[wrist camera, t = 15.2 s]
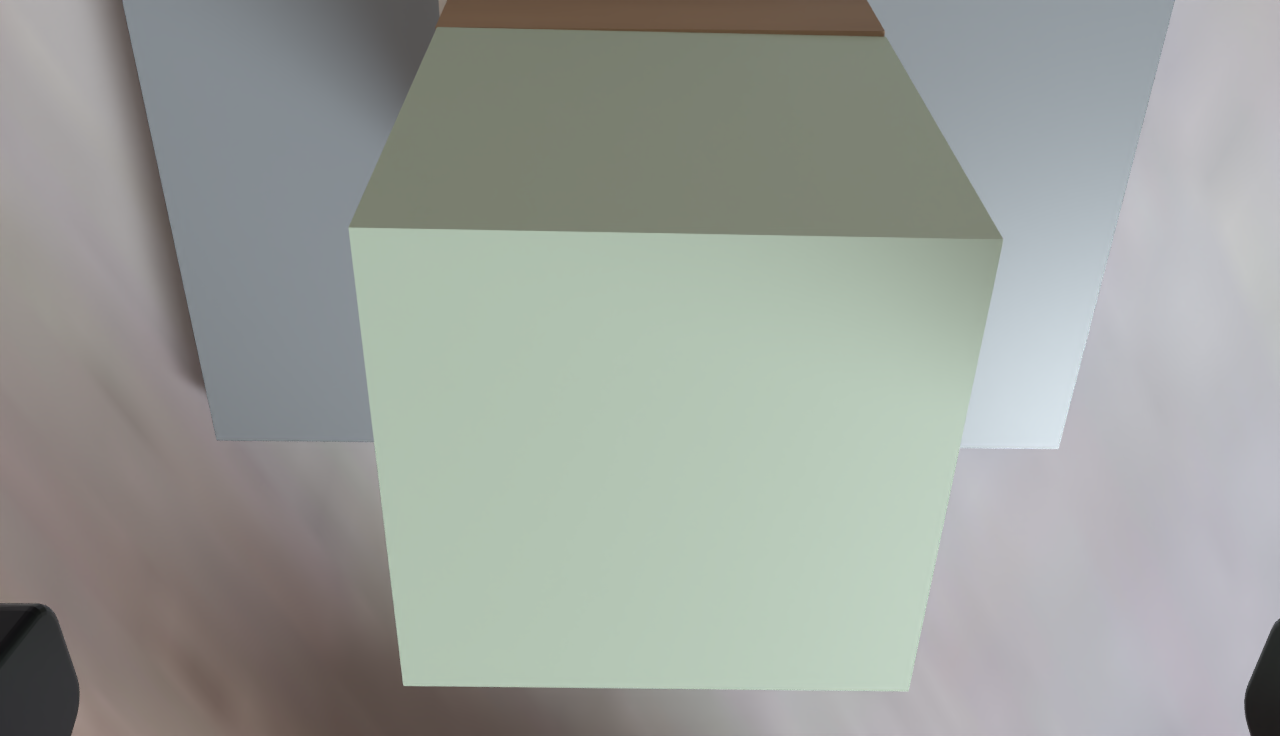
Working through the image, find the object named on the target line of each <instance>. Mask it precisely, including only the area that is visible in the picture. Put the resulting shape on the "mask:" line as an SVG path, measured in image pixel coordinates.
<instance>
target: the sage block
mask: <svg viewBox="0 0 1280 736" xmlns="http://www.w3.org/2000/svg"><path fill="white" fill-rule="evenodd" d="M348 228H349V237H350V245H351V253H352V262H353V270H354V278H355V287H356V295H357V303H358V312H359V320H360V329H361V337H362V345H363V354H364V362H365V370H366V379H367V387H368V395H369V404H370V412H371V420H372V429H373V437H374V446H375V454H376V462H377V471H378V479H379V487H380V496H381V504H382V512H383V521H384V529H385V537H386V546H387V554H388V563H389V571H390V579H391V588H392V596H393V604H394V613H395V621H396V629H397V638H398V646H399V655H400V663H401V671H402V680H403V686H455V687H548V688H641V689H734V690H827V691H909V686H910V682H911V677H912V672H913V667H914V663H915V658H916V653H917V648H918V644H919V639H920V634H921V629H922V625H923V620H924V615H925V610H926V606H927V601H928V596H929V591H930V587H931V582H932V577H933V572H934V568H935V563H936V558H937V553H938V549H939V544H940V539H941V534H942V530H943V525H944V520H945V515H946V510H947V506H948V501H949V496H950V491H951V487H952V482H953V477H954V472H955V468H956V463H957V458H958V453H959V449H960V444H961V439H962V434H963V430H964V425H965V420H966V415H967V411H968V406H969V401H970V396H971V392H972V387H973V382H974V377H975V373H976V368H977V363H978V358H979V354H980V349H981V344H982V339H983V335H984V330H985V325H986V320H987V316H988V311H989V306H990V301H991V297H992V292H993V287H994V282H995V278H996V273H997V268H998V263H999V259H1000V254H1001V249H1002V244H1003V238H1002V236H1001V234H1000V233H999V231H998V229H997V227H996V226H995V224H994V222H993V220H992V219H991V217H990V215H989V214H988V212H987V210H986V208H985V207H984V205H983V203H982V202H981V200H980V198H979V196H978V195H977V193H976V191H975V189H974V188H973V186H972V184H971V183H970V181H969V179H968V177H967V176H966V174H965V172H964V170H963V169H962V167H961V165H960V164H959V162H958V160H957V158H956V157H955V155H954V153H953V151H952V150H951V148H950V146H949V145H948V143H947V141H946V139H945V138H944V136H943V134H942V132H941V131H940V129H939V127H938V126H937V124H936V122H935V120H934V119H933V117H932V115H931V113H930V112H929V110H928V108H927V107H926V105H925V103H924V101H923V100H922V98H921V96H920V94H919V93H918V91H917V89H916V88H915V86H914V84H913V82H912V81H911V79H910V77H909V75H908V74H907V72H906V70H905V69H904V67H903V65H902V63H901V62H900V60H899V58H898V56H897V55H896V53H895V51H894V50H893V48H892V46H891V44H890V43H889V41H888V39H887V37H879V36H833V35H786V34H740V33H693V32H647V31H600V30H554V29H508V28H461V27H437V28H436V30H435V33H434V35H433V37H432V40H431V42H430V44H429V46H428V49H427V51H426V53H425V55H424V58H423V60H422V62H421V64H420V67H419V69H418V71H417V73H416V76H415V78H414V80H413V83H412V85H411V87H410V89H409V92H408V94H407V96H406V98H405V101H404V103H403V105H402V107H401V110H400V112H399V114H398V116H397V119H396V121H395V123H394V126H393V128H392V130H391V132H390V135H389V137H388V139H387V141H386V144H385V146H384V148H383V150H382V153H381V155H380V157H379V159H378V162H377V164H376V166H375V169H374V171H373V173H372V175H371V178H370V180H369V182H368V184H367V187H366V189H365V191H364V193H363V196H362V198H361V200H360V202H359V205H358V207H357V209H356V212H355V214H354V216H353V218H352V221H351V223H350V225H349V227H348Z"/></svg>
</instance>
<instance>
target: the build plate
mask: <svg viewBox="0 0 1280 736" xmlns="http://www.w3.org/2000/svg"><path fill="white" fill-rule="evenodd" d="M867 1H868V3H869V5H870V6H871V8H872V10H873V11H874V13H875V15H876V17H877V18H878V20H879V22H880V23H881V25H882V27H883V29H884V30H885V35H884V37H887V39H888V41H889V43H890V44H891V46H892V48H893V50H894V51H895V53H896V55H897V56H898V58H899V60H900V62H901V63H902V65H903V67H904V69H905V70H906V72H907V74H908V75H909V77H910V79H911V81H912V82H913V84H914V86H915V88H916V89H917V91H918V93H919V94H920V96H921V98H922V100H923V101H924V103H925V105H926V107H927V108H928V110H929V112H930V113H931V115H932V117H933V119H934V120H935V122H936V124H937V126H938V127H939V129H940V131H941V132H942V134H943V136H944V138H945V139H946V141H947V143H948V145H949V146H950V148H951V150H952V151H953V153H954V155H955V157H956V158H957V160H958V162H959V164H960V165H961V167H962V169H963V170H964V172H965V174H966V176H967V177H968V179H969V181H970V183H971V184H972V186H973V188H974V189H975V191H976V193H977V195H978V196H979V198H980V200H981V202H982V203H983V205H984V207H985V208H986V210H987V212H988V214H989V215H990V217H991V219H992V220H993V222H994V224H995V226H996V227H997V229H998V231H999V233H1000V234H1001V236H1002V238H1003V244H1002V249H1001V254H1000V259H999V263H998V268H997V273H996V278H995V282H994V287H993V292H992V297H991V301H990V306H989V311H988V316H987V320H986V325H985V330H984V335H983V339H982V344H981V349H980V354H979V358H978V363H977V368H976V373H975V377H974V382H973V387H972V392H971V396H970V401H969V406H968V411H967V415H966V420H965V425H964V430H963V434H962V439H961V444H960V448H1003V449H1059V445H1060V441H1061V437H1062V433H1063V430H1064V426H1065V422H1066V418H1067V414H1068V410H1069V406H1070V403H1071V399H1072V395H1073V391H1074V387H1075V383H1076V379H1077V376H1078V372H1079V368H1080V364H1081V360H1082V356H1083V352H1084V349H1085V345H1086V341H1087V337H1088V333H1089V329H1090V325H1091V322H1092V318H1093V314H1094V310H1095V306H1096V302H1097V298H1098V295H1099V291H1100V287H1101V283H1102V279H1103V275H1104V271H1105V268H1106V264H1107V260H1108V256H1109V252H1110V248H1111V244H1112V241H1113V237H1114V233H1115V229H1116V225H1117V221H1118V217H1119V214H1120V210H1121V206H1122V202H1123V198H1124V194H1125V190H1126V187H1127V183H1128V179H1129V175H1130V171H1131V167H1132V164H1133V160H1134V156H1135V152H1136V148H1137V144H1138V140H1139V137H1140V133H1141V129H1142V125H1143V121H1144V117H1145V113H1146V110H1147V106H1148V102H1149V98H1150V94H1151V90H1152V86H1153V83H1154V79H1155V75H1156V71H1157V67H1158V63H1159V59H1160V56H1161V52H1162V48H1163V44H1164V40H1165V36H1166V32H1167V29H1168V25H1169V21H1170V17H1171V13H1172V9H1173V5H1174V2H1175V0H867ZM122 2H123V7H124V11H125V16H126V20H127V25H128V30H129V34H130V39H131V44H132V48H133V53H134V58H135V62H136V67H137V72H138V76H139V81H140V86H141V90H142V95H143V100H144V104H145V109H146V114H147V118H148V123H149V128H150V132H151V137H152V142H153V146H154V151H155V155H156V160H157V165H158V169H159V174H160V179H161V183H162V188H163V193H164V197H165V202H166V207H167V211H168V216H169V221H170V225H171V230H172V235H173V239H174V244H175V249H176V253H177V258H178V263H179V267H180V272H181V277H182V281H183V286H184V290H185V295H186V300H187V304H188V309H189V314H190V318H191V323H192V328H193V332H194V337H195V342H196V346H197V351H198V356H199V360H200V365H201V370H202V374H203V379H204V384H205V388H206V393H207V398H208V402H209V407H210V412H211V416H212V421H213V425H214V430H215V435H216V439H217V440H226V441H323V442H374V437H373V429H372V420H371V412H370V404H369V395H368V387H367V379H366V370H365V362H364V354H363V345H362V337H361V329H360V320H359V312H358V303H357V295H356V287H355V278H354V270H353V262H352V253H351V245H350V237H349V228H348V227H349V225H350V223H351V221H352V218H353V216H354V214H355V212H356V209H357V207H358V205H359V202H360V200H361V198H362V196H363V193H364V191H365V189H366V187H367V184H368V182H369V180H370V178H371V175H372V173H373V171H374V169H375V166H376V164H377V162H378V159H379V157H380V155H381V153H382V150H383V148H384V146H385V144H386V141H387V139H388V137H389V135H390V132H391V130H392V128H393V126H394V123H395V121H396V119H397V116H398V114H399V112H400V110H401V107H402V105H403V103H404V101H405V98H406V96H407V94H408V92H409V89H410V87H411V85H412V83H413V80H414V78H415V76H416V73H417V71H418V69H419V67H420V64H421V62H422V60H423V58H424V55H425V53H426V51H427V49H428V46H429V44H430V42H431V40H432V37H433V35H434V33H435V30H436V29H435V26H436V24H437V22H438V20H439V17H440V15H441V13H442V11H443V8H444V6H445V4H446V2H447V0H122Z"/></svg>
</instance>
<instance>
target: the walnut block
mask: <svg viewBox="0 0 1280 736" xmlns="http://www.w3.org/2000/svg"><path fill="white" fill-rule="evenodd" d="M437 27H461V28H508V29H554V30H600V31H647V32H693V33H740V34H786V35H833V36H879V37H884V35H885V30H884V29H883V27H882V25H881V23H880V22H879V20H878V18H877V17H876V15H875V13H874V11H873V10H872V8H871V6H870V5H869V3H868V1H867V0H447V2H446V4H445V6H444V8H443V11H442V13H441V15H440V17H439V20H438V22H437V24H436V26H435V29H436V28H437Z"/></svg>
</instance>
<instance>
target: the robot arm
mask: <svg viewBox="0 0 1280 736" xmlns="http://www.w3.org/2000/svg"><path fill="white" fill-rule="evenodd" d="M79 693H80V692H79V683H78V679H77V675H76V672H75V669H74V666H73V663H72V661H71V658H70V655H69V652H68V649H67V646H66V643H65V640H64V637H63V634H62V631H61V628H60V625H59V622H58V619H57V617H56V615H55V613H54V612H53V611H52V610H51V609H50V608H49V607H48V606H46V605H42V604H32V603H0V736H71V734H72V730H73V727H74V724H75V720H76V716H77V712H78V707H79ZM1244 704H1245V716H1246V721H1247V725H1248V729H1249V732H1250V735H1251V736H1280V619H1279V620H1278V621H1276V622H1275V624H1274V625H1273V627H1272V629H1271V631H1270V634H1269V636H1268V639H1267V641H1266V643H1265V646H1264V648H1263V650H1262V653H1261V655H1260V657H1259V660H1258V662H1257V664H1256V667H1255V669H1254V671H1253V674H1252V676H1251V679H1250V681H1249V683H1248V686H1247V689H1246V693H1245V700H1244Z"/></svg>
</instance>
